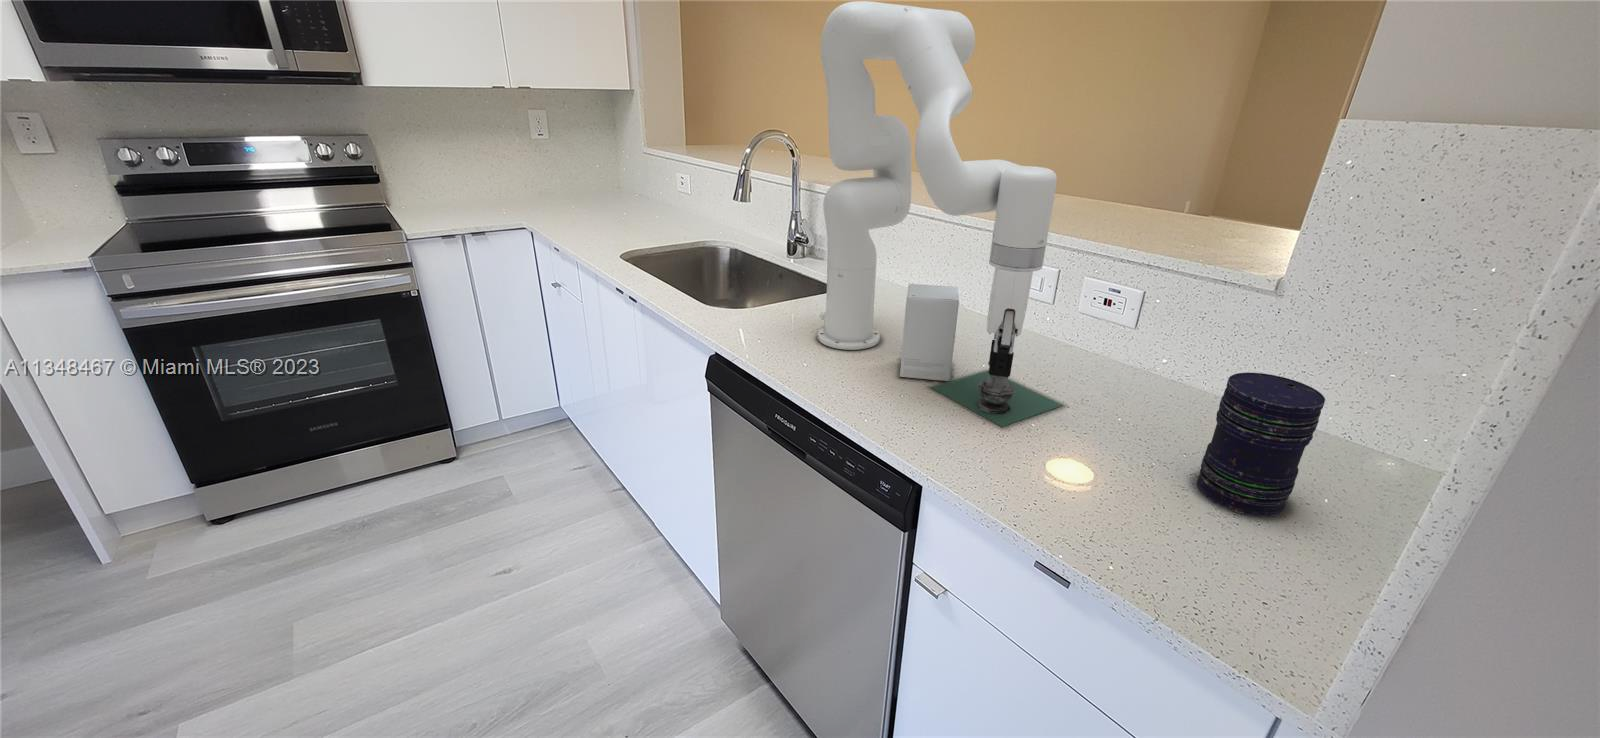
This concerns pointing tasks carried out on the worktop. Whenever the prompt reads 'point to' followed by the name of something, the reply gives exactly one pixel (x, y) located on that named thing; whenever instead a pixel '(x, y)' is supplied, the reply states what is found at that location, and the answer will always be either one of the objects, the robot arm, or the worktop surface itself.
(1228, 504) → the storage jar
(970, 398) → the mat
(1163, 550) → the worktop surface
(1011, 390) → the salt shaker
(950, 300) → the white product box
